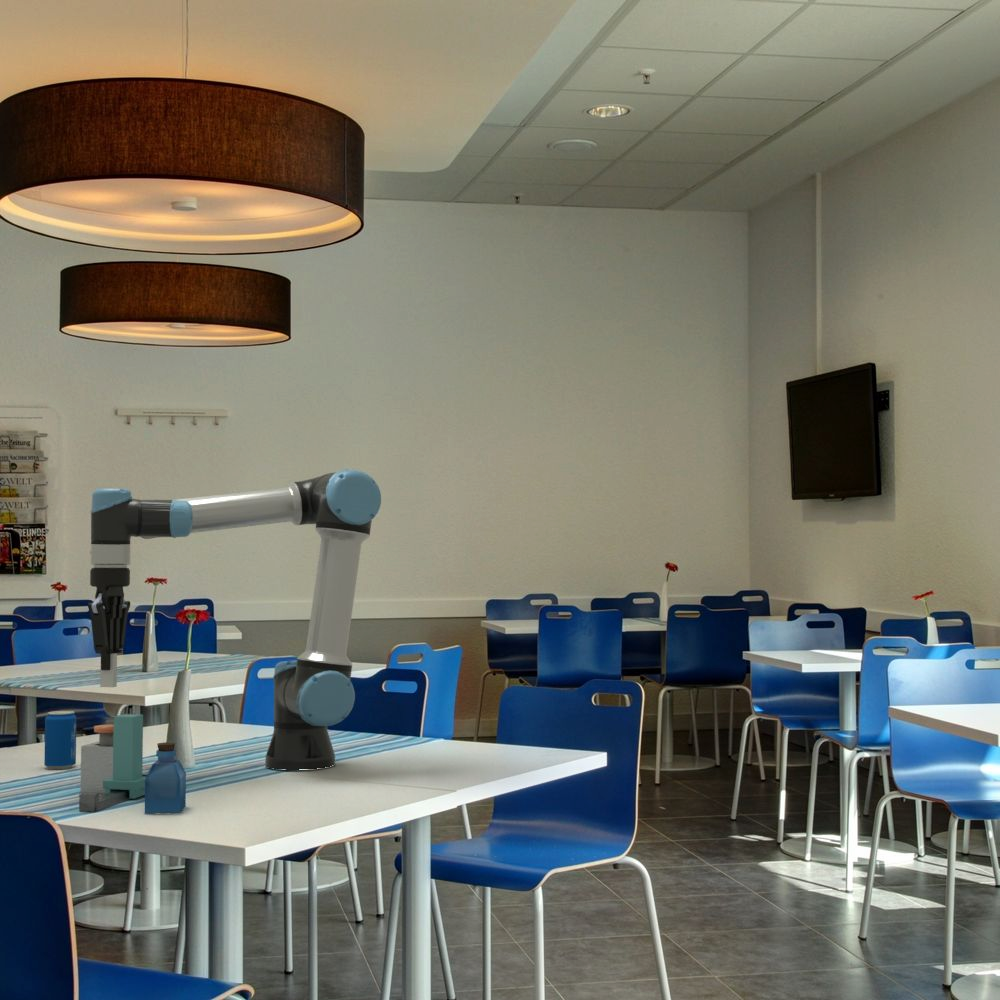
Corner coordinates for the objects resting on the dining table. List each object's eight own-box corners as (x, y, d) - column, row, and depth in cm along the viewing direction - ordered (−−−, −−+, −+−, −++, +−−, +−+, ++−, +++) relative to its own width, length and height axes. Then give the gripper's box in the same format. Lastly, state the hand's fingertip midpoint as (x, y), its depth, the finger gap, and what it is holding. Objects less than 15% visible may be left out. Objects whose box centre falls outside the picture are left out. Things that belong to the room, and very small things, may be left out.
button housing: (131, 787, 258) (131, 742, 259) (113, 794, 251) (114, 747, 252) (98, 786, 260) (99, 741, 260) (80, 792, 253) (81, 746, 253)
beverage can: (65, 770, 279) (66, 714, 280) (38, 769, 281) (39, 713, 281) (81, 766, 286) (82, 711, 286) (54, 765, 287) (55, 710, 288)
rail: (156, 788, 257) (156, 773, 257) (94, 811, 234) (94, 795, 234) (142, 788, 258) (142, 773, 258) (79, 811, 234) (79, 794, 234)
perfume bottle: (179, 813, 232) (180, 745, 233) (144, 814, 232) (145, 746, 233) (185, 807, 239) (186, 741, 239) (151, 807, 238) (152, 741, 239)
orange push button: (123, 755, 258) (124, 725, 258) (111, 759, 253) (112, 728, 253) (101, 754, 259) (102, 724, 259) (89, 758, 254) (89, 727, 254)
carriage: (151, 793, 251) (152, 714, 251) (136, 798, 245) (137, 717, 246) (118, 791, 252) (119, 713, 253) (102, 797, 246) (103, 717, 247)
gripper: (109, 566, 264) (107, 683, 263) (75, 566, 251) (73, 689, 250) (143, 566, 263) (141, 684, 262) (111, 566, 250) (109, 690, 249)
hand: (108, 686), depth 256 cm, fingers closed
